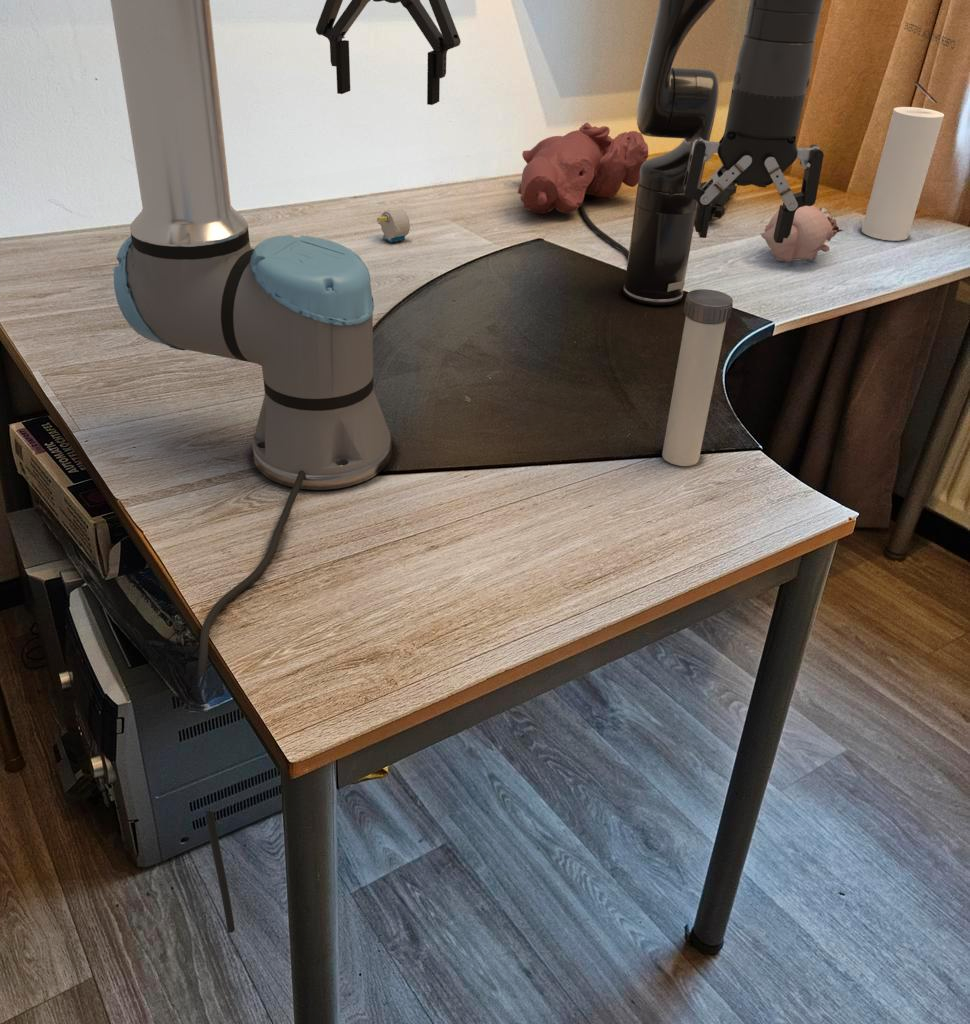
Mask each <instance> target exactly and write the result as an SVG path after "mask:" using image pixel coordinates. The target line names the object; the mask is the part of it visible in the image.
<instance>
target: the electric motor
mask: <svg viewBox="0 0 970 1024" xmlns="http://www.w3.org/2000/svg"><path fill="white" fill-rule="evenodd" d="M376 222H377V224H378V225H380V227H381V231H382V233H383V238H384V240H385V241H388V242H389V243H394V242H395V243H396V242H399V241H404V240H405V238H406V236H407V235H409V233H410V229H411V222H410V218H409V216H408V213H407V212H406V210H404V209H403V208H397V209H392V210H387V211H384V212H383V213H382V214H381V216H378V217H377V218H376Z"/></svg>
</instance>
